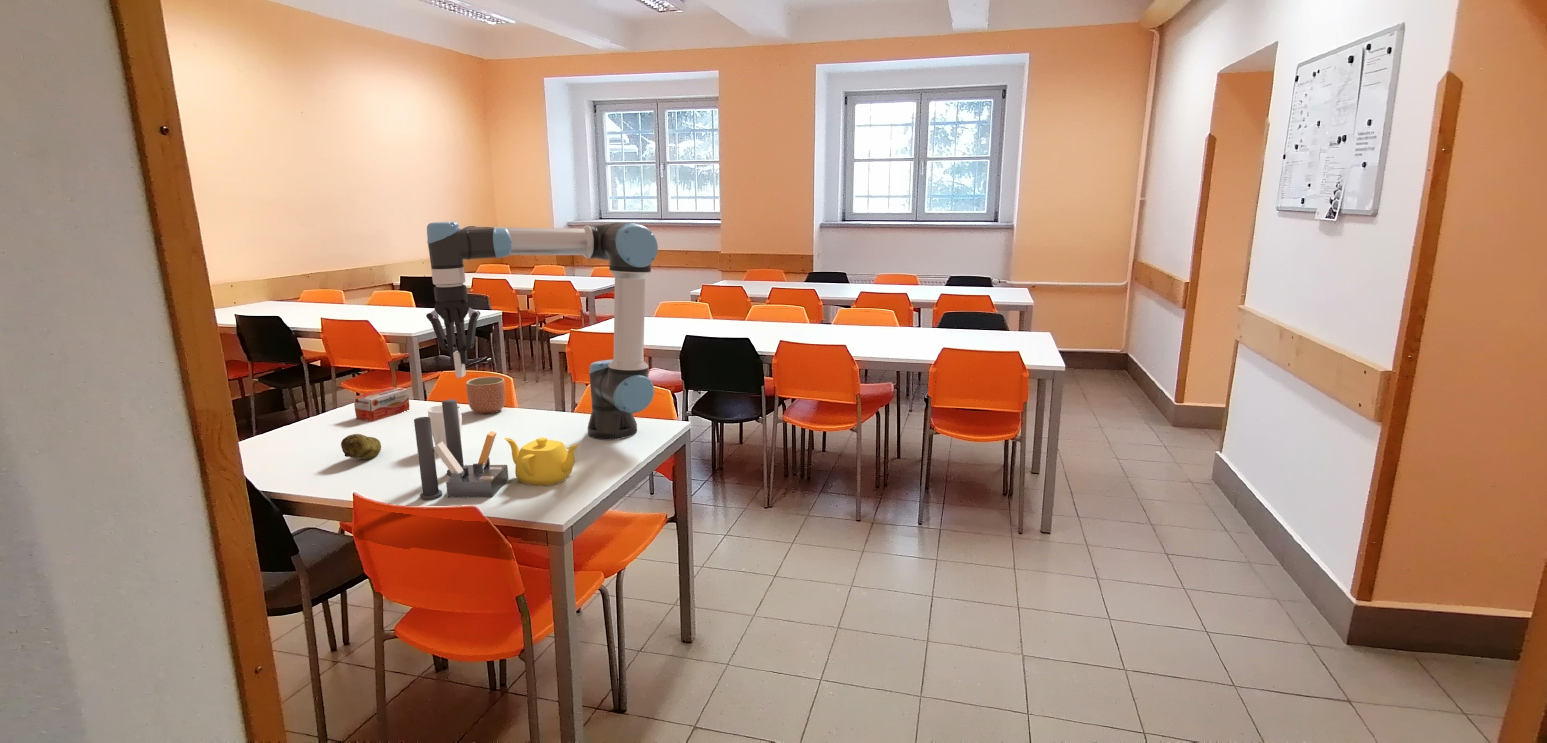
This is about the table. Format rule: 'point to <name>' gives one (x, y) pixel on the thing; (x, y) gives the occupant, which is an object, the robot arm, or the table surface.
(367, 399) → the medicine box
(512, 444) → the teapot
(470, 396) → the planter
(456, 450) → the post
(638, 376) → the robot arm
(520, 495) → the table surface
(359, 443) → the potato
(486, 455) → the orange paddle
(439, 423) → the cup
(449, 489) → the breaker panel
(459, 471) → the ivory paddle
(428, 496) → the cable post
